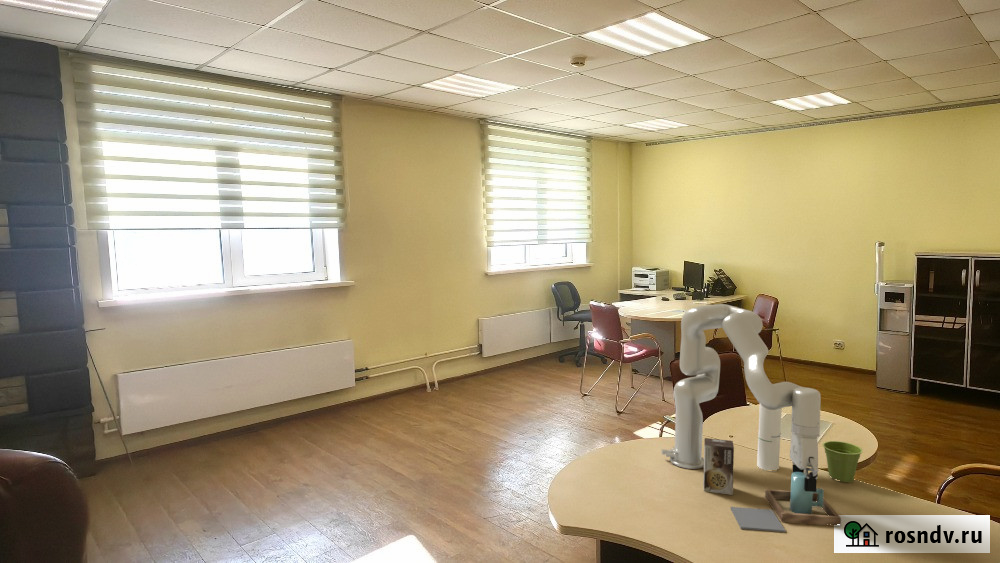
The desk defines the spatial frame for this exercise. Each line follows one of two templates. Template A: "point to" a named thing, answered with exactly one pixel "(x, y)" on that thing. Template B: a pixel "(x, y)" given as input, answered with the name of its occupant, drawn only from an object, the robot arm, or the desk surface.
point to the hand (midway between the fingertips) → (803, 484)
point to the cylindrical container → (769, 438)
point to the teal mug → (803, 495)
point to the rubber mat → (757, 519)
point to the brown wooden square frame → (797, 517)
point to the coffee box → (718, 466)
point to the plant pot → (842, 459)
